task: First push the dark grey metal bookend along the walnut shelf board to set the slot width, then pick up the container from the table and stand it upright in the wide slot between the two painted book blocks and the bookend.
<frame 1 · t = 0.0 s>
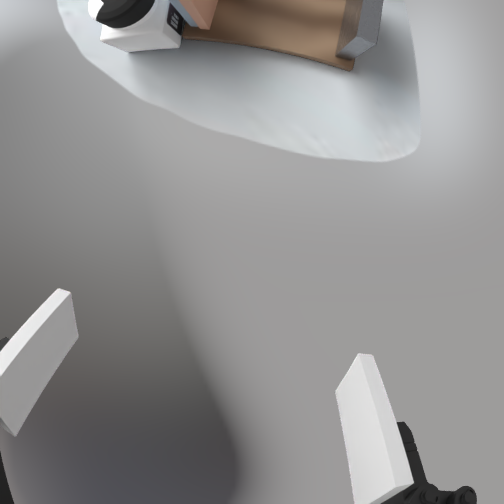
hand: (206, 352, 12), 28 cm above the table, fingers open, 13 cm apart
container: (157, 25, 28), on the table
books: (210, 2, 27), resting on shelf
bookend: (360, 14, 22), point 6 cm above the table, slide at 0.0 cm
shelf: (276, 10, 27), on the table
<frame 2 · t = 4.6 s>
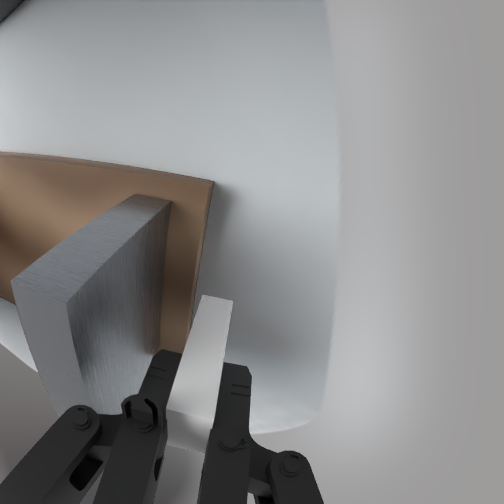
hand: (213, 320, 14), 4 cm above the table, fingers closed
bookend: (113, 331, 12), point 6 cm above the table, slide at 1.2 cm, touching gripper
shelf: (55, 242, 17), on the table
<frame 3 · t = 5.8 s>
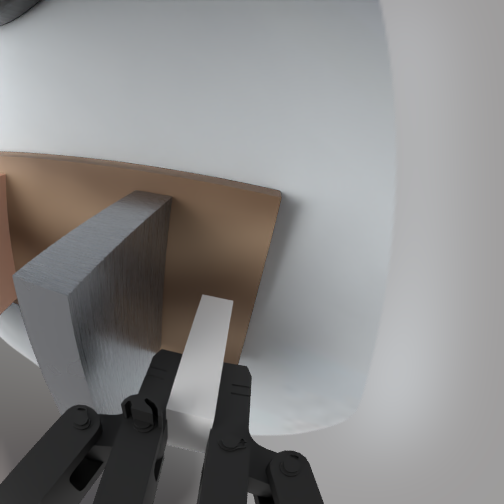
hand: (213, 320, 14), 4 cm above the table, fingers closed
books: (12, 229, 17), resting on shelf
bookend: (115, 327, 12), point 6 cm above the table, slide at 4.7 cm, touching gripper
shelf: (96, 251, 17), on the table
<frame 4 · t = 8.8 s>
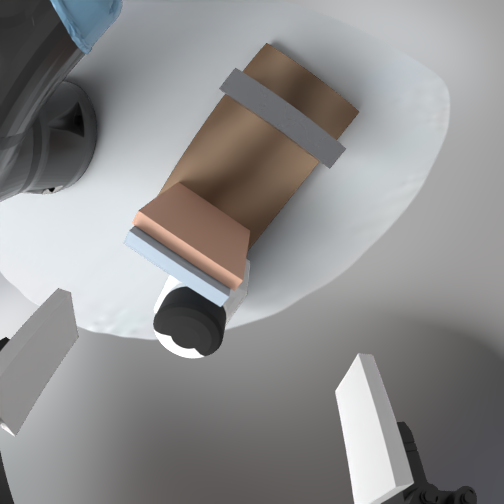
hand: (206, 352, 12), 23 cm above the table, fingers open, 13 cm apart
container: (209, 269, 37), on the table
books: (210, 211, 34), resting on shelf
bookend: (280, 118, 23), point 6 cm above the table, slide at 4.7 cm
shelf: (254, 150, 30), on the table
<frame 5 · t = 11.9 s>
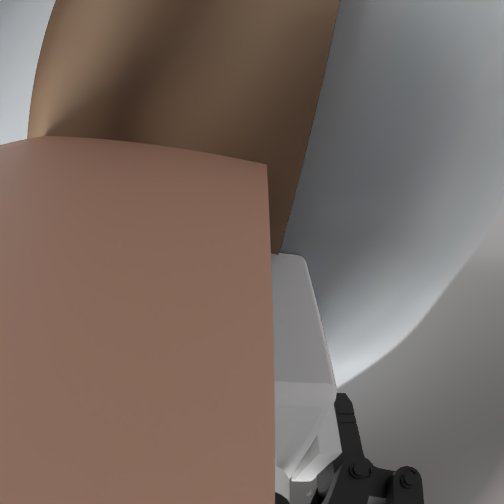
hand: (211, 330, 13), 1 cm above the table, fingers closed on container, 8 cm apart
container: (215, 312, 15), on the table, touching gripper
books: (147, 168, 12), resting on shelf
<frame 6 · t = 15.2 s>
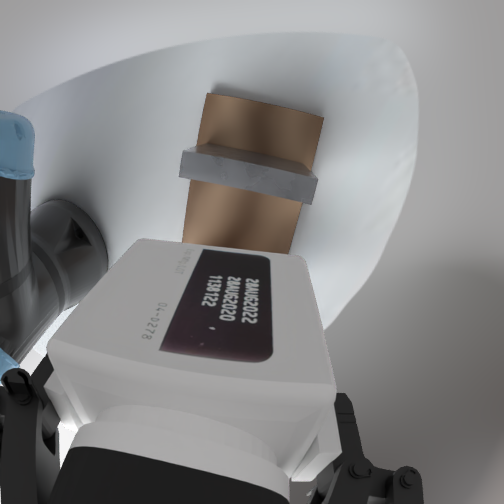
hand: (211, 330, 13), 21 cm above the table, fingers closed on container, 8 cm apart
container: (215, 312, 15), point 20 cm above the table, touching gripper
bookend: (250, 167, 25), point 6 cm above the table, slide at 4.7 cm
shelf: (245, 197, 32), on the table
when the fingers open (5 cm above the table, at t = 18.7 s): container drops 2 cm, resting on shelf.
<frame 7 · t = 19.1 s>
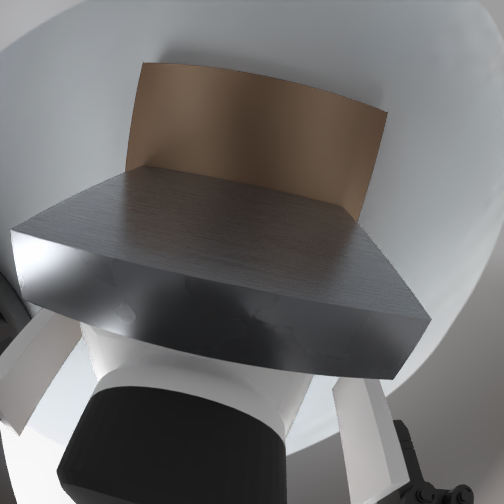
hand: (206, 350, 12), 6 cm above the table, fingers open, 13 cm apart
container: (219, 291, 16), point 1 cm above the table, touching shelf
bookend: (226, 237, 10), point 6 cm above the table, slide at 4.7 cm
shelf: (226, 265, 17), on the table
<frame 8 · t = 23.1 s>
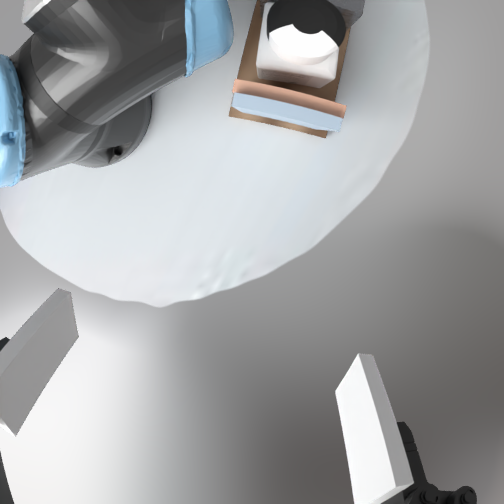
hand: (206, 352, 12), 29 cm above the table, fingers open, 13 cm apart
container: (293, 55, 29), point 1 cm above the table, touching shelf
books: (280, 111, 33), resting on shelf
bookend: (307, 7, 23), point 6 cm above the table, slide at 4.7 cm
shelf: (294, 51, 30), on the table
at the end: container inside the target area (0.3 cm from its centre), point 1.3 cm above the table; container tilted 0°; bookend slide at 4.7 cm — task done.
